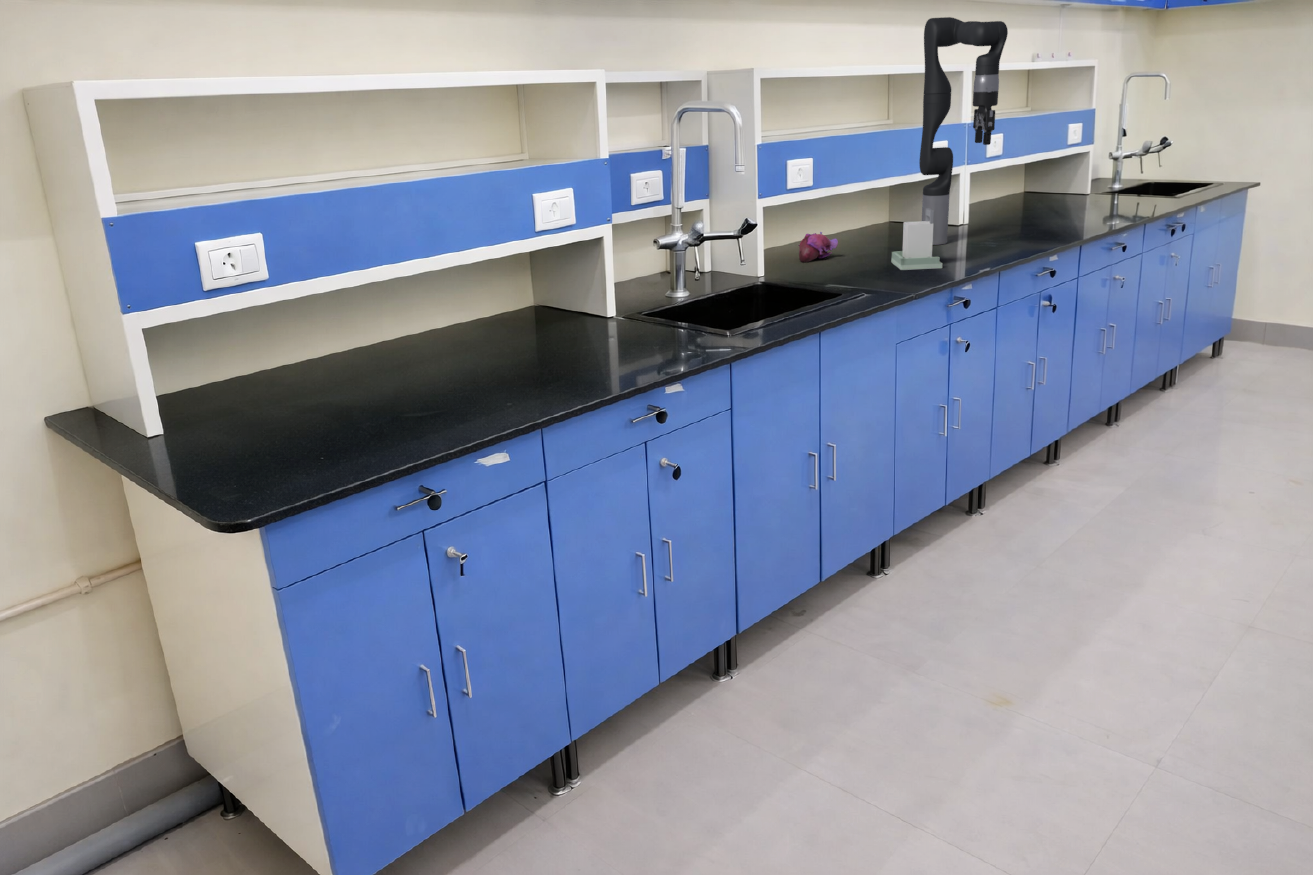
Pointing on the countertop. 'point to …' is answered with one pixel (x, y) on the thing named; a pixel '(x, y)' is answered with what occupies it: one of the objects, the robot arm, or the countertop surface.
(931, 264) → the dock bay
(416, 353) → the countertop surface
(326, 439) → the countertop surface
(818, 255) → the anatomical model
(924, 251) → the grey box with feet
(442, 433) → the countertop surface
